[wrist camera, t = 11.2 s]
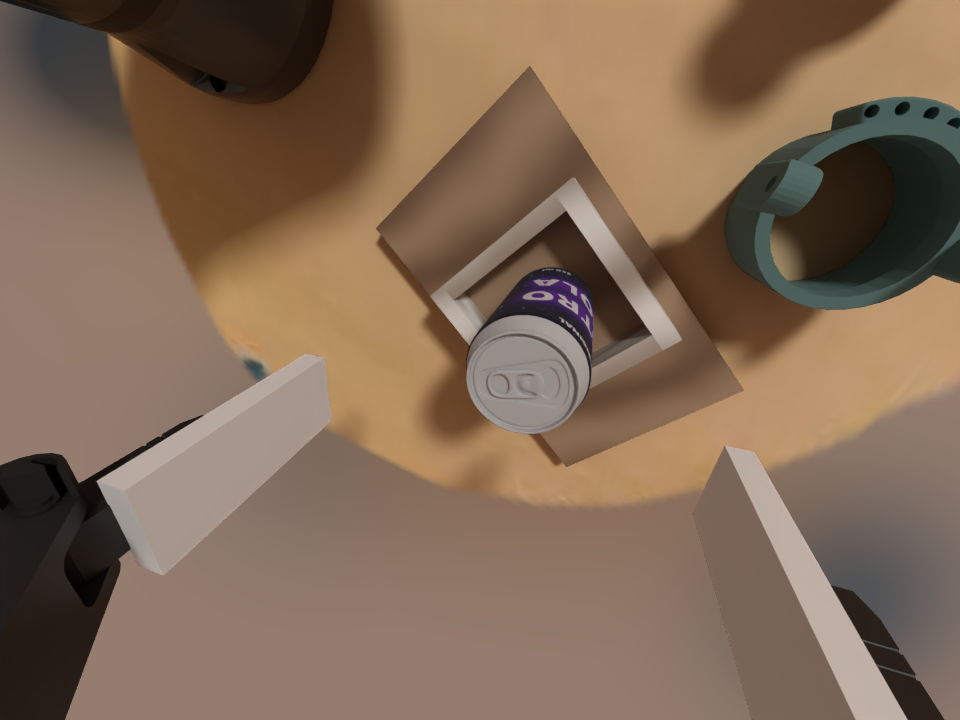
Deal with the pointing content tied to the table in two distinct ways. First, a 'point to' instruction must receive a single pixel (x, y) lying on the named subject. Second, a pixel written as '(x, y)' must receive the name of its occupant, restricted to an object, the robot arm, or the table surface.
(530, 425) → the beverage can
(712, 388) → the can holder
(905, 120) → the teal cauldron pot
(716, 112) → the table surface
